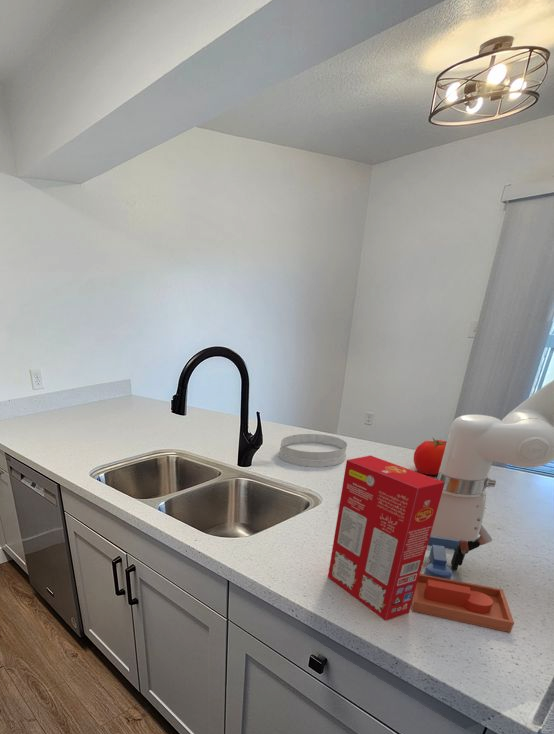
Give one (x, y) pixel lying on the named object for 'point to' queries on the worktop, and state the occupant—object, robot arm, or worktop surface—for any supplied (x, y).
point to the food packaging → (383, 533)
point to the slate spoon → (438, 563)
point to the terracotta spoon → (458, 596)
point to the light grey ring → (313, 450)
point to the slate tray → (443, 542)
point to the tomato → (429, 456)
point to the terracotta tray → (494, 619)
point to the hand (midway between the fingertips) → (436, 562)
